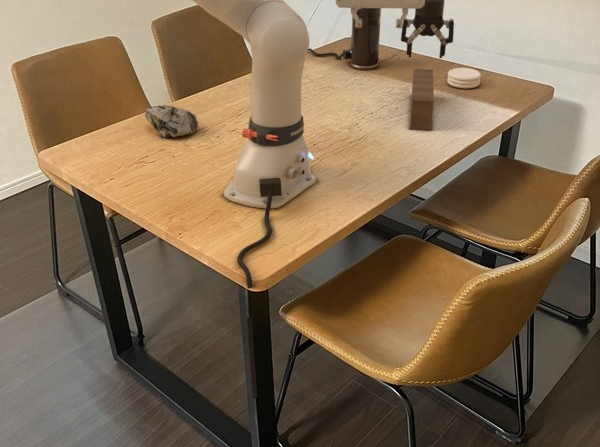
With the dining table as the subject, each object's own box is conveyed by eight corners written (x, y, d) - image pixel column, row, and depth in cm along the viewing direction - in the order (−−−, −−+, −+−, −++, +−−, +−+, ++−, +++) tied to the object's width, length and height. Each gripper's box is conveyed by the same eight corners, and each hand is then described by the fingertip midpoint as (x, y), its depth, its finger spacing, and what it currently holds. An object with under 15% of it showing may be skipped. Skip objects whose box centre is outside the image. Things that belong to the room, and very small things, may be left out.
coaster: (442, 78, 197) (444, 68, 195) (473, 77, 198) (474, 66, 196) (452, 89, 189) (453, 78, 187) (484, 88, 189) (486, 77, 188)
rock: (203, 130, 165) (200, 105, 161) (171, 142, 159) (167, 116, 155) (172, 117, 174) (168, 92, 171) (140, 127, 168) (136, 102, 165)
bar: (430, 130, 164) (433, 101, 160) (409, 129, 165) (412, 100, 161) (430, 96, 185) (432, 69, 181) (411, 95, 186) (413, 68, 181)
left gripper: (428, -39, 138) (423, 24, 146) (337, -39, 141) (337, 23, 149) (429, -34, 133) (424, 31, 140) (334, -34, 136) (334, 30, 143)
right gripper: (457, -6, 169) (450, 53, 177) (404, -7, 171) (400, 52, 180) (458, 1, 162) (451, 62, 171) (403, -1, 165) (399, 60, 173)
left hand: (378, 27), depth 145 cm, fingers open, 8 cm apart
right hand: (425, 57), depth 175 cm, fingers open, 8 cm apart
